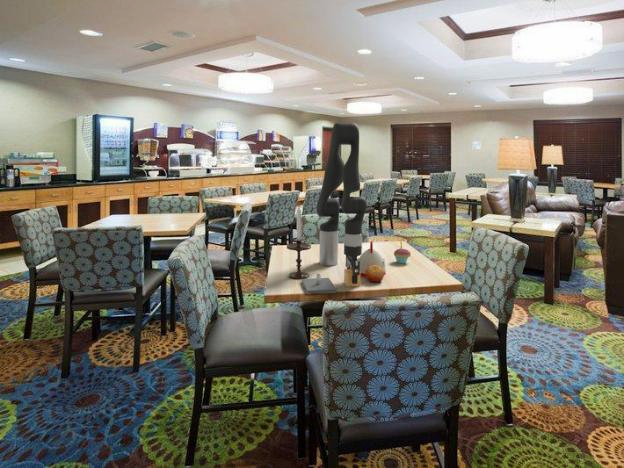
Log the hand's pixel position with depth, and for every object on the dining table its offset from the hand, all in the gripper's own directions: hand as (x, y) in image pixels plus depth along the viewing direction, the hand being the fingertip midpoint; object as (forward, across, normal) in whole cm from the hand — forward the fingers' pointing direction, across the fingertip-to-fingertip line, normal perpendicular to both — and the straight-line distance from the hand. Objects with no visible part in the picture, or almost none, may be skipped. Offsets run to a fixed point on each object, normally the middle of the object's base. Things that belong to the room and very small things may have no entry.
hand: (352, 280), depth 185 cm
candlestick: (+2, -15, -21) cm, 26 cm away
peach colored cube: (+2, 0, 0) cm, 2 cm away
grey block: (+2, +2, -15) cm, 15 cm away
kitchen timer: (+2, -15, +13) cm, 20 cm away
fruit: (+2, -3, +11) cm, 12 cm away
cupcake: (+2, -32, +35) cm, 47 cm away
